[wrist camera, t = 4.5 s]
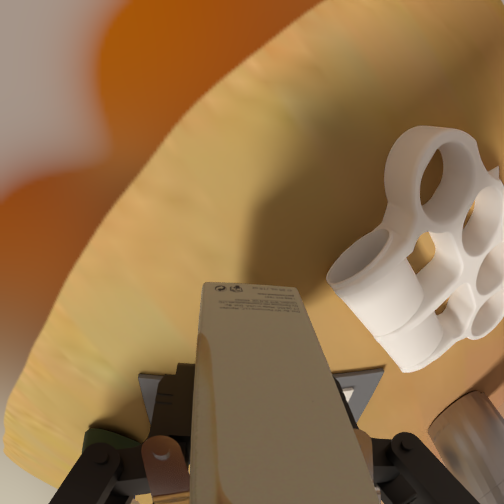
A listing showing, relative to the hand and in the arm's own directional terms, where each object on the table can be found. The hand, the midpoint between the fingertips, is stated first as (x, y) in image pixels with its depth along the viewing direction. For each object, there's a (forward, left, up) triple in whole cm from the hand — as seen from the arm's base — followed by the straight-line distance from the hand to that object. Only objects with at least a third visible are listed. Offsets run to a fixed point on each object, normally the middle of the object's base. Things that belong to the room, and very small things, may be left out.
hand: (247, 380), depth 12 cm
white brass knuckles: (-14, -3, -7) cm, 16 cm away
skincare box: (0, 0, -3) cm, 3 cm away
